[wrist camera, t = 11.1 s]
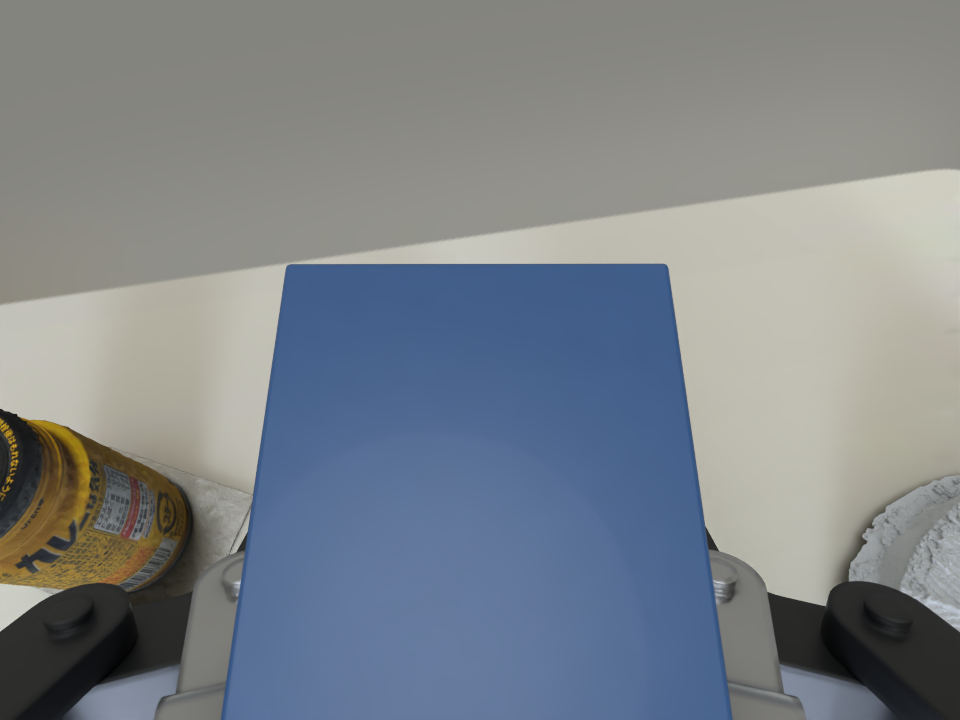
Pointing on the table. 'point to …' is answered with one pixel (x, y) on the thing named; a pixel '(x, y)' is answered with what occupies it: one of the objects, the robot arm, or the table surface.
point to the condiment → (105, 515)
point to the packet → (476, 503)
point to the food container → (918, 548)
